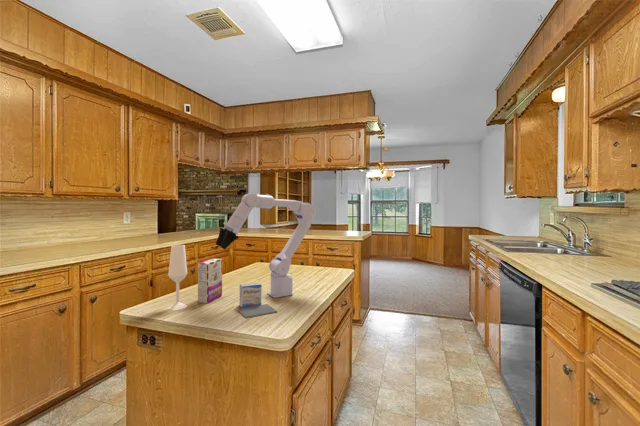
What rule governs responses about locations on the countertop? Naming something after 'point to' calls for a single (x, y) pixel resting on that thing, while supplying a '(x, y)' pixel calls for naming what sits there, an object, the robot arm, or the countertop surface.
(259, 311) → the slate mat
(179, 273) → the champagne flute
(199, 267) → the candy bar box
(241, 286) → the medicine box
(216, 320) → the countertop surface
